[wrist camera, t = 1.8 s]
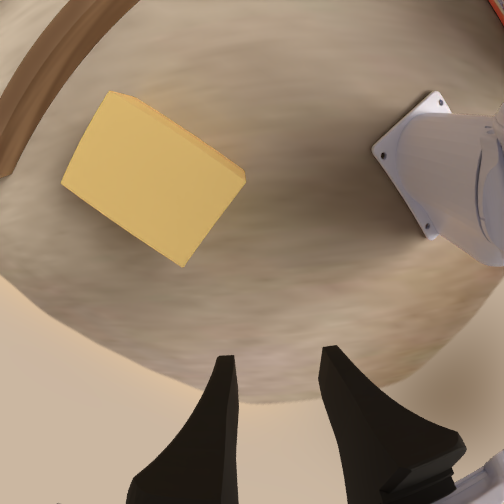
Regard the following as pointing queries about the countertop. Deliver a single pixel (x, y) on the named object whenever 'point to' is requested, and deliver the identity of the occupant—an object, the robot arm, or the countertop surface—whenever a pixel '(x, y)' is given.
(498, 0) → the cracker box
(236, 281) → the countertop surface
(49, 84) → the walnut board
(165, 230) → the ochre block
